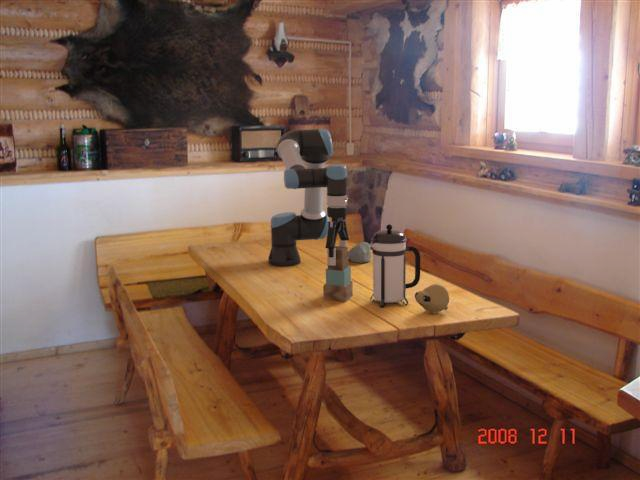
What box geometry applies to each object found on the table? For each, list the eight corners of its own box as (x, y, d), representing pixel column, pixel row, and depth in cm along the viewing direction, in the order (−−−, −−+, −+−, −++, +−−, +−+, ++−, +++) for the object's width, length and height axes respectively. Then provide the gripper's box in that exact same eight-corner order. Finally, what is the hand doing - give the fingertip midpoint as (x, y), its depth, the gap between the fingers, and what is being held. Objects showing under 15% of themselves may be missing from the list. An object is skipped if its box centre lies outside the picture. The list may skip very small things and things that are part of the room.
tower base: (323, 300, 265) (323, 285, 263) (330, 294, 273) (330, 279, 272) (345, 302, 262) (345, 287, 261) (352, 295, 270) (352, 281, 269)
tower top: (326, 284, 265) (325, 269, 263) (332, 279, 271) (332, 265, 270) (344, 286, 262) (344, 271, 261) (350, 281, 269) (350, 266, 267)
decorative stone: (377, 263, 320) (376, 243, 324) (358, 257, 315) (358, 237, 319) (360, 271, 330) (360, 252, 334) (342, 266, 324) (342, 247, 329)
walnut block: (327, 269, 263) (327, 249, 261) (333, 266, 268) (333, 245, 267) (342, 270, 261) (342, 250, 259) (347, 267, 266) (347, 247, 265)
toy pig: (410, 311, 249) (410, 283, 247) (438, 306, 254) (438, 278, 252) (425, 319, 240) (425, 289, 238) (454, 314, 245) (454, 285, 243)
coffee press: (401, 311, 250) (401, 229, 243) (362, 304, 258) (361, 226, 252) (420, 298, 264) (421, 221, 258) (383, 293, 272) (383, 218, 266)
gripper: (336, 212, 247) (336, 269, 251) (356, 201, 270) (356, 254, 274) (316, 211, 249) (317, 268, 254) (337, 200, 272) (338, 252, 277)
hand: (337, 261), depth 264 cm, fingers open, 13 cm apart
